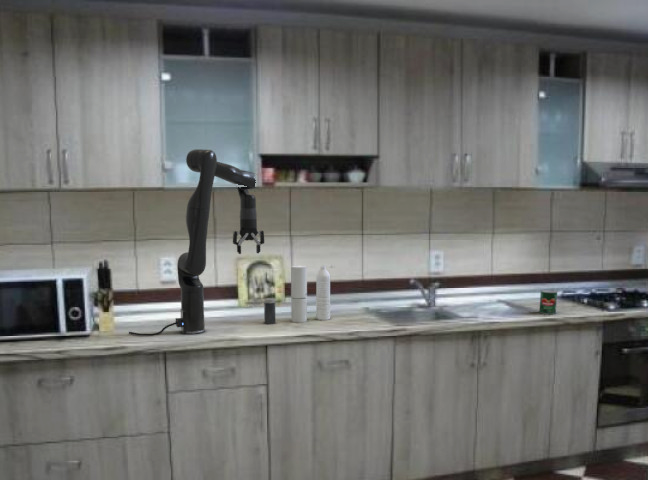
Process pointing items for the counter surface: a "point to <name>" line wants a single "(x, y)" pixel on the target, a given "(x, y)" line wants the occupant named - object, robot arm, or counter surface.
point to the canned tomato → (548, 302)
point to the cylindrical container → (298, 293)
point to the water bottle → (323, 294)
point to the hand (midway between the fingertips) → (248, 253)
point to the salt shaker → (269, 311)
